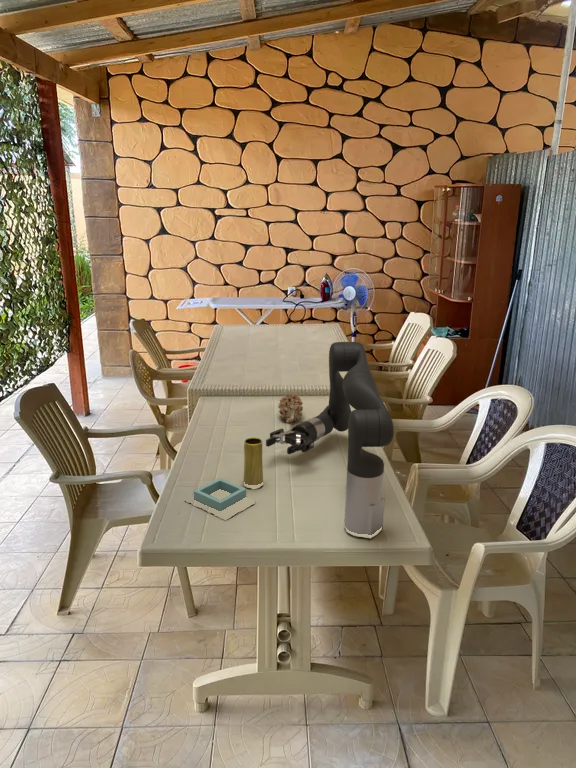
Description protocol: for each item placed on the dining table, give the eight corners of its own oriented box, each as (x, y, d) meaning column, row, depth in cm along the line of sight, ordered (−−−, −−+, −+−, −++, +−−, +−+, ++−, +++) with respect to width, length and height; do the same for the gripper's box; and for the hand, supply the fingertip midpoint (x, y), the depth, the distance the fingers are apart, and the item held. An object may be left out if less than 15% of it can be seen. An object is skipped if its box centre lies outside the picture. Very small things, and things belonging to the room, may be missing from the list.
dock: (255, 503, 173) (255, 491, 171) (225, 520, 164) (225, 507, 162) (215, 486, 182) (215, 474, 181) (185, 501, 173) (184, 488, 172)
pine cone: (277, 412, 241) (277, 388, 238) (301, 412, 241) (302, 388, 238) (279, 434, 220) (279, 408, 217) (306, 434, 220) (306, 408, 217)
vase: (238, 484, 183) (238, 440, 179) (254, 478, 187) (254, 435, 183) (252, 491, 179) (252, 447, 175) (267, 485, 183) (268, 441, 179)
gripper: (291, 415, 204) (259, 430, 192) (326, 426, 196) (295, 442, 184) (291, 436, 206) (259, 452, 194) (326, 448, 198) (295, 465, 186)
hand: (277, 447), depth 189 cm, fingers open, 8 cm apart
